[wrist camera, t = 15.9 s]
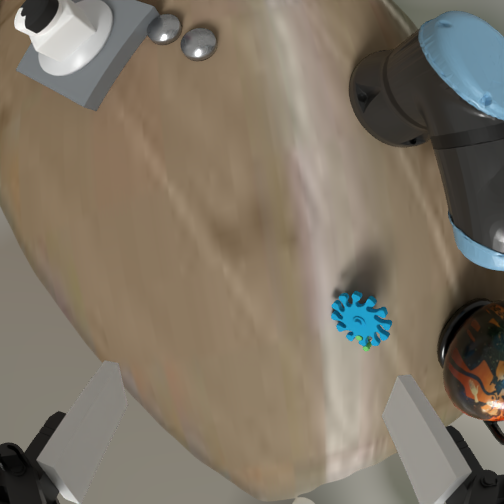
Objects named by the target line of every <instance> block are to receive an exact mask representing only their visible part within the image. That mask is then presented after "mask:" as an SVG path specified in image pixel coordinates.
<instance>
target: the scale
mask: <svg viewBox="0 0 504 504" xmlns="http://www.w3.org/2000/svg"><path fill="white" fill-rule="evenodd" d="M71 1H73V2H74V3H75V4H76V5H78V6H79V7H80V8H81V9H83V11H84V13H85V14H86V16H87V17H88V19H89V21H90V22H91V24H92V25H93V27H94V28H95V30H96V33H95V34H94V35H92V36H91V37H90V38H89V39H88V40H86V41H85V42H84V43H83V44H82V45H81V46H79V47H78V48H77V49H76V50H75V51H74V52H73V53H72V54H70V55H69V56H68V57H67V58H66V59H65V60H64V61H63V62H59V61H57V60H55V59H52V58H50V57H48V56H46V55H44V54H42V53H39V52H37V51H36V50H35V48H34V46H33V43H31V45H30V46H29V48H28V50H27V51H26V53H25V55H24V56H23V58H22V60H21V62H20V63H19V65H18V67H17V69H16V70H17V71H18V72H20V73H22V74H24V75H26V76H28V77H30V78H32V79H34V80H36V81H37V82H39V83H41V84H43V85H45V86H47V87H49V88H50V89H52V90H54V91H56V92H58V93H60V94H61V95H63V96H65V97H67V98H69V99H70V100H72V101H74V102H76V103H78V104H79V105H81V106H83V107H85V108H88V109H91V110H94V111H97V109H98V107H99V106H100V104H101V102H102V101H103V99H104V97H105V96H106V94H107V92H108V91H109V89H110V88H111V86H112V84H113V83H114V81H115V80H116V78H117V77H118V75H119V74H120V72H121V71H122V69H123V68H124V66H125V65H126V63H127V62H128V60H129V59H130V58H131V56H132V55H133V53H134V52H135V51H136V49H137V48H138V47H139V45H140V44H141V43H142V41H143V40H144V39H145V37H146V36H147V28H148V25H149V24H150V22H151V21H152V20H153V19H155V18H156V17H158V16H160V15H159V13H158V11H157V10H156V8H155V7H154V6H152V5H149V4H146V3H142V2H139V1H136V0H71Z"/></svg>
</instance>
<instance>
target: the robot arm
mask: <svg viewBox="0 0 504 504" xmlns="http://www.w3.org/2000/svg"><path fill="white" fill-rule="evenodd" d="M349 95H350V101H351V105H352V108H353V110H354V113H355V115H356V117H357V118H358V120H359V121H360V123H361V124H362V126H363V127H364V128H365V129H366V130H367V131H368V132H369V133H370V134H371V135H372V136H374V137H375V138H376V139H378V140H379V141H381V142H383V143H385V144H388V145H391V146H394V147H412V146H417V145H420V144H423V143H425V142H426V141H428V140H429V139H431V142H432V145H433V149H434V152H435V156H436V159H437V163H438V167H439V170H440V174H441V178H442V182H443V187H444V191H445V195H446V200H447V205H448V217H449V220H450V222H451V224H452V227H453V232H454V236H455V241H456V244H457V246H458V248H459V249H460V250H461V252H462V253H463V255H464V256H465V257H466V258H468V259H469V260H470V261H472V262H473V263H475V264H477V265H479V266H482V267H485V268H488V269H492V270H498V271H504V37H503V36H502V35H501V34H500V33H499V32H498V31H497V30H496V29H494V28H493V27H492V26H491V25H490V24H489V23H487V22H486V21H484V20H483V19H481V18H479V17H477V16H475V15H473V14H470V13H467V12H462V11H449V12H445V13H443V14H441V15H440V16H438V17H437V18H435V19H432V20H430V21H427V22H425V23H424V24H423V25H422V26H421V27H420V29H419V30H417V31H416V32H415V33H414V34H412V35H411V36H410V37H409V38H408V39H406V40H405V41H404V42H403V43H402V44H400V45H399V46H398V47H397V48H396V49H393V50H384V51H378V52H375V53H373V54H371V55H369V56H367V57H366V58H365V59H363V60H362V61H361V62H360V63H359V64H358V65H357V67H356V68H355V70H354V71H353V73H352V76H351V79H350V84H349ZM127 406H128V403H127V399H126V395H125V390H124V386H123V381H122V377H121V372H120V367H119V363H115V362H110V361H104V362H103V363H102V365H101V366H100V368H99V369H98V370H97V372H96V373H95V374H94V376H93V377H92V379H91V380H90V381H89V383H88V384H87V386H86V387H85V388H84V390H83V391H82V393H81V394H80V395H79V397H78V398H77V400H76V401H75V403H74V404H73V406H72V407H71V408H70V410H69V411H68V413H67V414H65V413H63V412H59V411H58V412H56V413H55V414H53V415H52V416H50V417H49V418H48V420H47V421H46V423H45V424H44V427H42V428H41V430H40V431H39V433H38V434H37V435H36V437H35V438H34V440H33V441H32V442H31V444H30V445H29V447H28V448H27V450H26V451H25V453H24V452H23V451H22V449H21V448H20V447H19V446H18V445H16V444H14V443H4V444H1V445H0V504H60V503H59V501H58V499H57V495H58V493H59V492H60V493H61V495H62V496H63V497H64V498H65V499H67V500H69V501H72V502H75V503H77V504H82V501H83V499H84V497H85V494H86V492H87V490H88V488H89V486H90V483H91V481H92V479H93V477H94V475H95V473H96V470H97V468H98V466H99V464H100V462H101V460H102V458H103V455H104V453H105V451H106V449H107V447H108V445H109V443H110V441H111V439H112V437H113V435H114V432H115V430H116V429H117V427H118V424H119V422H120V420H121V418H122V416H123V414H124V412H125V410H126V408H127ZM382 417H383V420H384V422H385V424H386V426H387V428H388V431H389V433H390V435H391V437H392V440H393V442H394V444H395V446H396V449H397V451H398V453H399V456H400V458H401V460H402V462H403V465H404V467H405V470H406V472H407V474H408V476H409V479H410V482H411V484H412V486H413V488H414V491H415V494H416V496H417V499H418V501H419V503H420V504H443V503H444V502H445V501H446V504H504V475H497V474H496V473H495V472H493V471H491V470H483V469H482V467H481V466H480V464H479V462H478V461H477V459H476V458H475V456H474V454H473V453H472V451H471V449H470V448H469V447H468V445H467V443H466V442H465V441H464V438H463V437H462V435H461V434H460V432H459V431H458V430H456V429H455V428H454V427H452V426H447V427H445V426H444V424H443V423H442V421H441V420H440V418H439V417H438V415H437V413H436V412H435V410H434V409H433V407H432V406H431V404H430V403H429V401H428V400H427V398H426V397H425V395H424V394H423V392H422V391H421V389H420V388H419V386H418V385H417V383H416V382H415V380H414V379H413V377H412V376H411V374H410V375H401V376H397V379H396V382H395V384H394V387H393V390H392V392H391V395H390V397H389V400H388V402H387V405H386V407H385V410H384V412H383V414H382Z"/></svg>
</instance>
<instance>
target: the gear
mask: <svg viewBox="0 0 504 504" xmlns="http://www.w3.org/2000/svg"><path fill="white" fill-rule="evenodd" d="M361 297H362V293H360V292H358V291H354V293H353V294H352V299H353V304H350V303H349V302H348V299H349V295H348V293H342V294H341V295H340V296H339V300H340V301H341V302H342V303H343V305H344V308H345V309H344V308H343V307H342V305H341V302H340V301H339V300H336V301H335V302H334V303H333V304H332V308H333V309H335V311H334V312H333V313H332V315H331V318H332V319H333V320H338V321H341V322H339V323H338V324H337V326H336V327H337V329H338V331H340V332H341V331H343V330H349V331H352V332H349V333H348V334H347V335H346V337H347V339H349V340H350V341H353V339H354V338H355V336H356V339H357V340H359V344H360V345H362V346H364V347H363V350H364V351H368V350H369V349H370V347H371V345H373V346H378V345H379V344H380V342H381V340H383V341H384V340H386V339H387V338H388V337H389V335H390V333H389V332H387V331H385V330H389V329H390V327H391V325H392V321H391V320H384V319H381V318H380V317H382V318H385V317H386V315H387V314H388V312H387V309H386V307H381V308H379V309H372V308H373V307H374V305H375V304H376V302H377V300H376V299H375V298H374V297H373V296H370V297H369V298H368V299H367V301H366V303H364V304H360V303H359V302H358V301H359V300H360V299H361ZM336 310H337V311H336ZM339 312H340V313H339ZM340 314H341V315H340ZM377 315H378V316H380V317H378V316H377ZM342 322H343V323H342ZM379 324H380V325H382V327H383V328H384V329H385V330H384V329H382V328H381V326H380V325H379ZM376 332H378V333H379V334H380V338H381V340H380V339H379V338H378V336H377V334H376ZM371 338H372V339H373V340H372V341H371V342H370V340H371Z"/></svg>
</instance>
